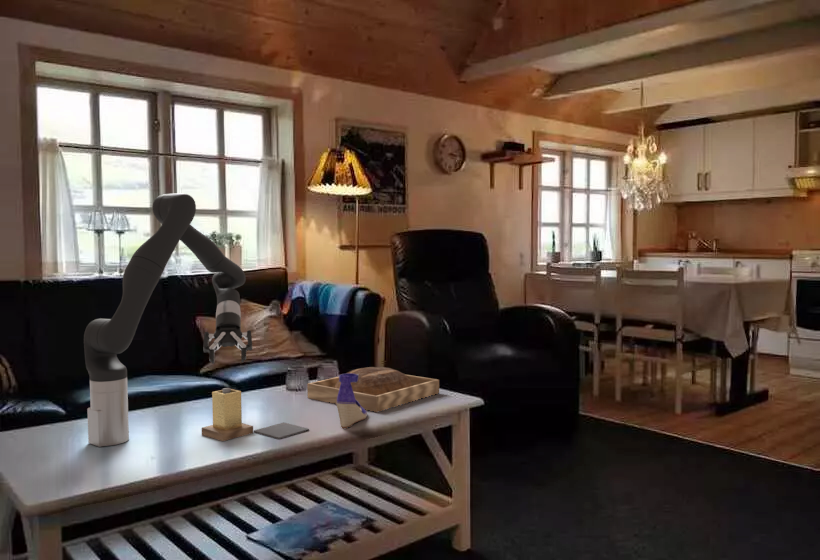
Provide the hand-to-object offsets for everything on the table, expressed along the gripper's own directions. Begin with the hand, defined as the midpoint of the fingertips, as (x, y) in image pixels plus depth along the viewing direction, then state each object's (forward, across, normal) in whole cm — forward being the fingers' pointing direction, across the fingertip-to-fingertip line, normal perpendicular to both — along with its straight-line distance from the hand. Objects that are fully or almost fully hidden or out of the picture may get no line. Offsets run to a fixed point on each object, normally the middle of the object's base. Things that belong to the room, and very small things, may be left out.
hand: (227, 361), depth 198 cm
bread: (-4, +48, +32) cm, 57 cm away
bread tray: (-4, +48, +30) cm, 57 cm away
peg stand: (+22, 0, +4) cm, 22 cm away
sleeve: (+20, 0, +3) cm, 20 cm away
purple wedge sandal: (+18, +36, +9) cm, 41 cm away
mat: (+22, +15, +4) cm, 27 cm away
